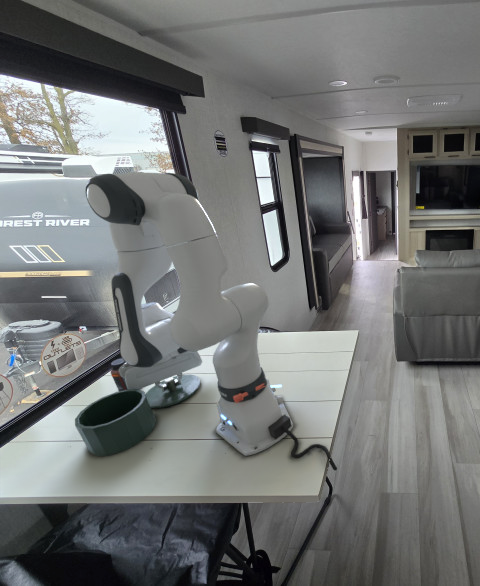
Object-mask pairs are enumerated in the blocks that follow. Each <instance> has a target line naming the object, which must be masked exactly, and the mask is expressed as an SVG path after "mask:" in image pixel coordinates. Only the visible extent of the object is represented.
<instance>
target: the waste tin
mask: <svg viewBox="0 0 480 586" xmlns="http://www.w3.org/2000/svg"><path fill="white" fill-rule="evenodd" d="M145 394H146V393H145V391H143V390H141V389H128V390H123V391H119V390H118V391H115V392H112V393H110V394H108V395H105V396H102V397H100V398H99V399H97V400H95V401H93V402H92V403H89V404H88V405H87V406H86V407H84V408H83V409H82V410H81V411H80V412H79V413H78V414H77V416H76V417H75V418H74V427H75V428H76V430H77V432H78V433H79V435H80V437H81V439H82V441H83V442H84V445H85V446H86V448H87V450H88V452H89V453H91V454H92V455H93V456H97V457H107V456H112V455H115V454H116V455H117V454H119V453H121V452H124V451H127V450H129V449H131V448H132V447H134V446H135V445H138V444H139V443H141V441H143V440H144V439H145V438H146V437H148V436H149V435H150V434H151V433H152V432H153V430H154V428H155V427H156V424H157V419H156V417H155V414H154V412H153V410H152V409H153V408H151V407H150V404H149V402H148V400H147V397H146V395H145Z"/></svg>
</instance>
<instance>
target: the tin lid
mask: <svg viewBox="0 0 480 586" xmlns="http://www.w3.org/2000/svg"><path fill="white" fill-rule="evenodd" d="M176 379H177V375H175V376H172V377H169V378H167V379H164V380H162V381H160V383H161V384H162V385H163V384H166V386H167V388H168V390H167V391H164V392H163V391H162V389H161V388H159V387H157V386H156V385H155V384H154V386H152V387H151V388H150V389H148V390H147V391H146V393H145V395H146V397H147V400H148V402H149V404H150V407H151V409H162V408H168V407H170V406H171V407H172V406H173V405H176V404H179V403H181V402H183V401H185V400H187V399H188V398H190V397H191V396H192V395H193V394H195V393H196V392H197V391H198V389H200V387H201V379H200V378H199V376H197V375H196V374H195V375H194V374H183V376H182V378H181V380H180V381H181V385H179V386H176V384H175V381H174V380H176Z"/></svg>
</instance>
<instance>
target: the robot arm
mask: <svg viewBox="0 0 480 586" xmlns="http://www.w3.org/2000/svg"><path fill="white" fill-rule="evenodd" d="M85 197H86V200H87V203H88V205H89V207H90V208H91V210H92V211H93V213H94V214H95V215H96V216H97V217H99V218H100V219H102V220H104V221H106V222H108V225H109V231H110V235H111V239H112V243H113V246H114V249H115V251H116V255H117V270H116V273H115V274H114V275H113V277H112V278H111V283H110V284H111V285H110V286H111V295H112V299H113V306H114V312H115V318H116V323H117V324H116V325H117V329H118V335H119V340H118V341H119V342H118V343H119V344H118V351H119V354H120V357H121V358H123V360H124V361H125V362H126V363H124V364H123V365H122V366H121V367H120V368H119V374H120V376H121V377H124V378H125V382H126V385H127V388H128V389H139V390H141V389H144V388H146V387H149V386H151V385H154V386H155V385H156V386H157V387H159V388H161V389H162V391H163V392H164V391H167V390H168V388H167V386H166V384H163V385H162V384H161V383H160V382H162V381H164V380H166V379H167V378H170V377H175V376H177V379H176V380H174V381H175V384H176V386H179V385H181V381H180V380H181V378H182V376H183V375H184V374H183V373H184V372H187V371H190V370H193V369H195V368H198V367H201V366H202V364H203V359H202V357H201V355H200V353H199V351H202V350H205V349H207V348H211V347H213V346H215V345H217V344H218V345H217V347H216V348H215V350H214V352H213V355H212V364H213V368H214V372H215V375H216V379H217V383H216V385H217V390H218V392H219V395H220V398H219V400H218V401H217V403H216V408H217V411H218V415H219V419H220V420H219V421H220V422H219V424H218V425H217V426H216V429H215V431H216V433H217V435H218V436H220V437H221V438H222V439H223V440H224V441H226V442H227V443H228V444H230V445H231V447H234V449H235V450H237V452H239V453H240V454H242V455H243V456H245V457H247V456H252V455H255V454H258V453H261V452H262V451H265V450H267V449H268V448H270V447H273V446H274V445H275V444H277V443H279V442H280V441H281V440H282V439H284V438H285V437H286V436H287V435H288V436H289V437H290V438H291V439H292V440H293V442H294V446H293V448H292V449H291V453H290V456H291V457H292V458H294V459H299V458H301V457H303V456H304V455H306V454H307V453H309V452H310V451H311V450H313V449H319V450H322V451H323V452H324V454H325V455H326V458H327V460H328V462H329V465H330V466H331V468H332V470H333V471H337V470H338V467H337V465H336V464H335V462H334V460H333V458H332V457H331V458H330V455H331V453H330V450H329V449H328V448H327V447H326V446H325V445H324V444H320V443H313V444H311V445H310V446H308V447H306V448H305V449H304V450H303V451H301V452H300V453H296V451H297V449H298V448H299V440H298V438H297V437H296V436H295V434H294V433H293V432H292V430H293V428H294V423H293V421H292V418H291V417H290V414H289V412H288V410H287V407H286V406H285V404H284V399H283V397H282V396H281V395H277V394H275V392H276V391H277V390H276V388H282V387H283V385H282V384H273V385H271V384H270V380H269V379H268V378H267V375H266V373H265V371H264V369H263V368H262V366H261V361H260V356H259V349H258V339H259V332H260V327H261V324H262V320H263V318H264V315H265V313H266V312H267V310H268V308H269V298H268V295H267V292H266V291H265V290H264V289H263V288H262V287H260V285H257V284H255V283H252V282H251V283H249V282H248V283H244V284H239V285H234V286H232V287H229V288H227V289H225V290H221V284H222V279H223V277H224V275H225V274H226V273H227V271H228V268H229V260H228V257H227V256H226V254H225V251H224V248H223V246H222V244H221V242H220V239H219V237H218V235H217V232H216V229H215V228H214V225H213V223H212V222H211V219H210V218H209V216H208V214H207V212H206V211H205V209H204V208H203V206H202V205H201V203H200V202H199V193H198V190H197V189H196V187H195V184H194V183H193V182H192V181H191V180H190V179H189V178H188V177H186V176H184V175H182V174H178V173H173V172H164V173H161V172H143V171H130V172H129V171H128V172H121V173H115V174H114V173H104V174H99V175H96V176H93V177H91V178H89V179H88V181H87V183H86V186H85ZM172 265H173V268H174V270H175V272H176V276H177V278H178V282H179V301H178V305H177V308H176V311H175V312H174V313H173V312H170V311H168V310H166V309H164V308H163V307H162V306H161V305H160V303H158V302H156V301H155V302H154V301H153V302H145V303H143V304H142V301H143V298H144V297H145V295H146V293H147V292H148V291H149V289H151V288H152V286H153V285H154V284H156V283H157V282H158V281H159V280H161V279H162V278H163V277H164V276H165V275H166V274H167V273H168V272H169V270H170V268H171V267H172ZM123 366H124V367H123ZM329 459H330V461H329Z"/></svg>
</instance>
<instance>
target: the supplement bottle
mask: <svg viewBox="0 0 480 586" xmlns="http://www.w3.org/2000/svg"><path fill="white" fill-rule="evenodd" d="M124 363H126V362H125V361H124V360H123V358H122V357H121V358H118V359H115V360H113V361H112V362H111V363H110V365H111V369H110V375H111V378H112V380H113V381H114V384H115V387H116V389H117V390H118V392H119V391H123V390H128V388H127V385H126V382H125V378H124V377H121V376H120V374H119V368H120V367H121V366H122V365H123V364H124ZM123 367H124V366H123Z"/></svg>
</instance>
